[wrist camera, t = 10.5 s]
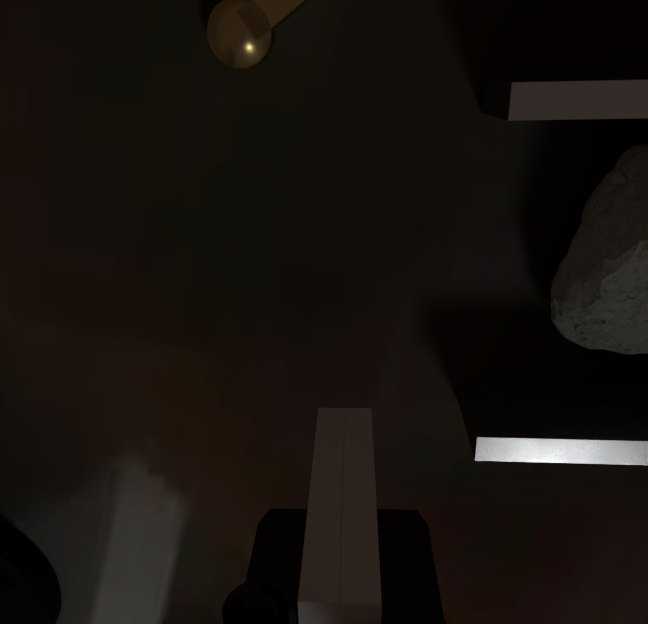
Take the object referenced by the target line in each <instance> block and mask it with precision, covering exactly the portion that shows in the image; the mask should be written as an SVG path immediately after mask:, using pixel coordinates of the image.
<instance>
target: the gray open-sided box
mask: <svg viewBox="0 0 648 624" xmlns="http://www.w3.org/2000/svg"><path fill="white" fill-rule="evenodd" d="M482 113H484V114H487V115H491V116H494V117H498V118H501V119H505V120H508V121H509V120H573V119H637V118H648V79H603V80H555V81H506V82H484V92H483V104H482ZM458 403H459V406H460V410H461V413H462V417H463V420H464V424H465V427H466V431H467V435H468V438H469V442H470V445H471V449H472V452H473V456H474V459H475V461H512V462H549V463H586V464H623V465H648V385H621V384H563V383H504V382H460V389H459V401H458Z"/></svg>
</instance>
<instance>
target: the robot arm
mask: <svg viewBox="0 0 648 624" xmlns="http://www.w3.org/2000/svg"><path fill="white" fill-rule="evenodd" d="M60 609H61V593H60V588H59V585H58V582H57V579H56V577H55V575H54V573H53V571H52V569H51V567H50V566H49V564H48V563H47V562H46V560H45V559H44V558H43V556H42V555H41V554H40V553H39V552H38V551H37V550H36V549H35V548H34V547H33V546H32V545H31V544H30V543H29V542H27V541H26V540H25V539H24V538H22V537H21V536H20V535H18V534H17V533H15V532H14V531H12V530H11V529H9V528H7V527H5V526H3V525H2V524H0V624H55V623H56V621H57V619H58V617H59V614H60ZM222 613H223V621H224V624H446V623H445V620H444V616H443V611H442V605H441V599H440V593H439V587H438V581H437V575H436V569H435V563H434V558H433V552H432V547H431V540H430V534H429V528H428V525H427V524H426V522H425V521H424V519H423V518H422V517H421V515H420V514H419V513H418V511H417V510H389V509H377V507H376V489H375V471H374V452H373V434H372V416H371V408H319V409H318V418H317V427H316V437H315V446H314V455H313V464H312V474H311V483H310V492H309V501H308V509H269V511H268V512H267V513H266V514H265V516H264V517H263V518H262V520H261V521H260V522H259V523H258V527H257V532H256V536H255V541H254V545H253V550H252V555H251V559H250V564H249V568H248V573H247V578H246V582H245V583H244V584H242V585H240V586H237V587H236V588H235V589H234V590H233V591H232V592H231V593H230V594H229V595H228V596H227V598H226V600H225V602H224V604H223V606H222Z"/></svg>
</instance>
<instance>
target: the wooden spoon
mask: <svg viewBox="0 0 648 624" xmlns="http://www.w3.org/2000/svg"><path fill="white" fill-rule="evenodd" d="M308 1H309V0H223V1H221V2H220V3H218V4H217V5H216V6H215V8H214V9H213V10H212V12H211V14H210V17H209V19H208V24H207V37H208V42H209V44H210V47H211V49H212V51H213V52H214V54H215V55H216V56H217V58H218V59H219V60H220V61H222V62H223V63H225V64H226V65H228V66H231V67H235V68H252V67H255V66H257V65H259V64H260V63H262V62H263V61H264V60H265V59H266V58H267V56H268V55H269V53H270V51H271V49H272V46H273V41H274V30H275V29H276V28H277V27H279V26H280V25H281V24H282V23H283V22H285V21H286V20H287V19H288V18H289V17H290V16H292V15H293V14H294V13H295V12H296V11H298V10H299V9H300V8H301V7H302V6H303V5H305V4H306V3H307V2H308Z"/></svg>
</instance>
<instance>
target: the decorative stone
mask: <svg viewBox="0 0 648 624" xmlns="http://www.w3.org/2000/svg"><path fill="white" fill-rule="evenodd" d="M550 296H551V320H552V321H553V323H554V324H555V326H556V327H557V329H558V330H559V332H560V333H561V334H562V335H563V336H564V337H565V338H566V339H568V340H570V341H572V342H574V343H576V344H578V345H580V346H582V347H584V348H587V349H606V350H609V351H613V352H618V353H622V354H640V353H647V354H648V144H640V145H634V146H632V147H631V148H629V149H628V150H627V151H625V152H624V153H623V154H622V155H621V156H620V158H619V159H618V161H617V164H616V166H615V169H613V170H612V171H610V172H608V174H607V175H606V176H605V177H604V178H603V179H602V181H601V182H600V183H599V185H598V186H597V187H596V189H595V190H594V192H593V193H592V194H591V196H590V198H589V199H588V201H587V203H586V205H585V207H584V209H583V212H582V222H581V225H580V226H579V227H578V231H577V232H576V234H575V236H574V238H573V240H572V242H571V244H570V247H569V250H568V253H567V255H566V256H565V257H564V259H563V260H562V261H561V262H560V264H559V267H558V271H557V273H556V276H555V277H554V279H553V281H552V286H551V292H550Z"/></svg>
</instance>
